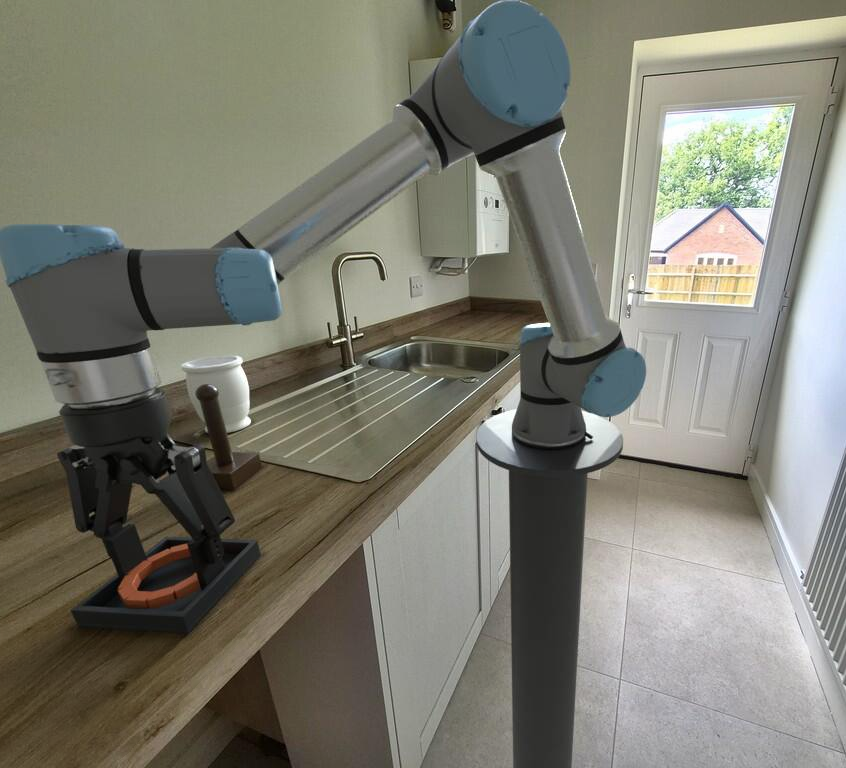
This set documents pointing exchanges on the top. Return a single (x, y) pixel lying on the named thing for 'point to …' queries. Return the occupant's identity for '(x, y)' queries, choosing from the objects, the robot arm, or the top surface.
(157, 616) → the tray
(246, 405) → the jar
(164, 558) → the ring
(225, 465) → the ring stand
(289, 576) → the top surface
